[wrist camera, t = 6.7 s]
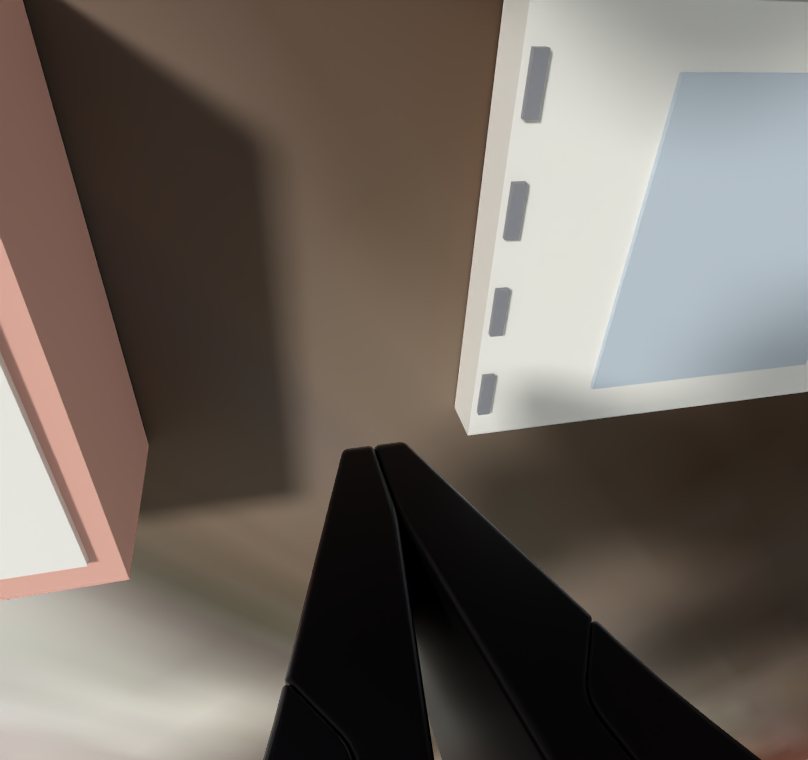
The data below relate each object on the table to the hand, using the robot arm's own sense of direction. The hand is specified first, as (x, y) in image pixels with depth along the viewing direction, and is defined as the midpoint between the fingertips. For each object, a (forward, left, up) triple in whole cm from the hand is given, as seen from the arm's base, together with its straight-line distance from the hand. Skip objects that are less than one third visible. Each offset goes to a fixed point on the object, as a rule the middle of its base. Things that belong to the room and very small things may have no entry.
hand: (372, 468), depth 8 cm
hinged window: (-9, 0, -7) cm, 11 cm away
